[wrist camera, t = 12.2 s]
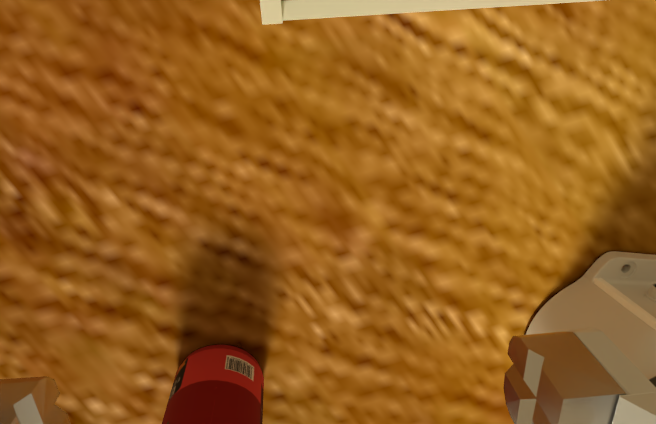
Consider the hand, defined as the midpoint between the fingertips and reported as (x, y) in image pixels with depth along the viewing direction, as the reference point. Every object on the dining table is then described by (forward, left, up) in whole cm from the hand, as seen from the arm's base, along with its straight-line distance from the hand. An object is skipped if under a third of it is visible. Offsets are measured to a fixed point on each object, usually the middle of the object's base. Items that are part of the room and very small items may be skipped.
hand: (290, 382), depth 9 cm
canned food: (+8, +25, -29) cm, 40 cm away
